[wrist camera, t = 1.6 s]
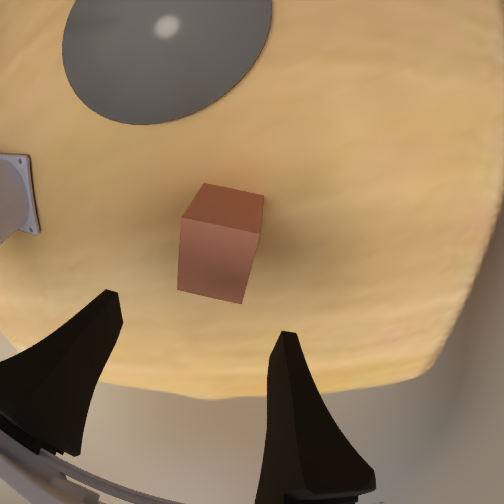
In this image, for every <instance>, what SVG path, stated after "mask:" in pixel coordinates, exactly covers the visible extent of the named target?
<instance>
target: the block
mask: <svg viewBox="0 0 504 504" xmlns="http://www.w3.org/2000/svg"><path fill="white" fill-rule="evenodd" d="M263 201H264V196H263V195H258V194H254V193H249V192H245V191H240V190H236V189H231V188H226V187H221V186H216V185H211V184H206V183H204V184H203V185H202V187H201V188H200V190H199V191H198V193H197V195H196V196H195V198H194V199H193V201H192V202H191V204H190V205H189V207H188V209H187V210H186V212H185V213H184V215H183V216H182V221H181V234H180V247H179V263H178V283H177V290H180V291H185V292H189V293H193V294H197V295H202V296H206V297H211V298H215V299H220V300H224V301H229V302H234V303H239V304H242V301H243V297H244V293H245V290H246V286H247V282H248V278H249V275H250V271H251V267H252V263H253V259H254V256H255V252H256V248H257V244H258V240H259V237H260V231H261V221H262V211H263Z"/></svg>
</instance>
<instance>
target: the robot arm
mask: <svg viewBox="0 0 504 504" xmlns="http://www.w3.org/2000/svg"><path fill="white" fill-rule="evenodd" d="M16 230H21V231H24V232H27V233H30V234H34V235H37V234H38V233H39V232H40V231H39V225H38V220H37V215H36V209H35V203H34V197H33V190H32V182H31V174H30V163H29V158H28V156H27V155H17V154H0V245H1V244H2V243H3V242H4V241H5V240H6V239H7V238H9V237H10V236H11V235H12V234H13V233H14V232H15V231H16ZM122 325H123V319H122V314H121V308H120V303H119V297H118V293H117V292H114V291H110V290H107V289H106V290H104V291H103V292H102V293H101V294H100V295H98V296H97V297H96V298H95V299H94V300H93V301H91V302H90V303H89V304H88V305H87V306H85V307H84V308H83V309H82V310H81V311H80V312H78V313H77V314H76V315H75V316H74V317H72V318H71V319H70V320H69V321H67V322H66V323H65V324H64V325H62V326H61V327H60V328H58V329H57V330H56V331H54V332H53V333H52V334H50V335H49V336H47V337H46V338H44V339H43V340H41V341H40V342H38V343H37V344H35V345H33V346H32V347H30V348H28V349H26V350H25V351H23V352H21V353H19V354H17V355H15V356H13V357H10V358H8V359H6V360H4V361H1V362H0V478H1V479H2V480H4V482H6V483H7V484H8V485H9V486H10V487H11V488H12V489H13V490H15V491H16V492H17V493H18V494H19V495H21V496H22V497H23V498H24V499H25V500H27V501H28V502H29V503H31V504H105V503H103V502H100V501H98V500H99V496H100V495H99V494H98V493H95V492H93V491H91V490H89V489H87V488H85V487H83V486H81V485H78V484H76V483H74V482H71V481H69V480H67V478H66V476H65V475H67V476H69V477H71V478H73V479H75V480H77V481H79V482H81V483H83V484H86V485H88V486H90V487H92V488H95V489H97V490H99V491H102V492H104V493H107V494H109V495H112V496H114V497H117V498H120V499H122V500H125V501H128V502H131V503H134V504H184V503H179V502H175V501H170V500H167V499H163V498H159V497H155V496H151V495H148V494H145V493H142V492H138V491H135V490H132V489H129V488H126V487H124V486H121V485H118V484H115V483H112V482H110V481H108V480H105V479H103V478H100V477H98V476H96V475H93V474H91V473H88V472H87V471H84V470H82V469H80V468H78V467H76V466H74V465H72V464H70V463H68V462H66V461H64V460H62V459H60V458H58V457H57V456H55V454H56V452H58V453H60V454H61V455H63V454H64V452H66V453H68V454H70V455H72V456H74V457H75V456H78V455H80V453H81V444H82V437H83V432H84V427H85V422H86V417H87V413H88V409H89V405H90V402H91V399H92V396H93V392H94V389H95V386H96V384H97V381H98V379H99V377H100V375H101V373H102V370H103V368H104V366H105V364H106V362H107V360H108V358H109V356H110V354H111V352H112V350H113V348H114V346H115V344H116V342H117V339H118V336H119V333H120V330H121V328H122ZM375 489H376V479H375V474H374V470H373V469H372V468H371V467H370V466H369V465H368V464H367V463H366V462H365V461H364V459H363V458H362V457H361V456H360V455H359V454H358V453H357V451H356V450H355V449H354V448H353V447H352V445H351V444H350V443H349V441H348V440H347V439H346V437H345V436H344V434H343V433H342V432H341V430H340V429H339V427H338V426H337V424H336V423H335V421H334V420H333V418H332V416H331V414H330V413H329V411H328V409H327V407H326V406H325V404H324V402H323V400H322V398H321V396H320V394H319V392H318V390H317V387H316V385H315V383H314V381H313V378H312V376H311V373H310V371H309V368H308V366H307V363H306V360H305V358H304V355H303V352H302V349H301V346H300V343H299V339H298V336H297V334H296V333H293V332H287V331H282V332H281V334H280V336H279V338H278V340H277V342H276V344H275V347H274V349H273V351H272V353H271V355H270V358H269V366H268V375H267V433H266V440H265V448H264V455H263V463H262V469H261V474H260V480H259V485H258V490H257V494H256V499H255V504H355V502H358V495H361V494H365V493H369V492H372V491H374V490H375ZM375 504H384V502H379V503H375Z"/></svg>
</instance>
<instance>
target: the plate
mask: <svg viewBox="0 0 504 504" xmlns="http://www.w3.org/2000/svg"><path fill="white" fill-rule="evenodd" d="M271 10H272V4H271V0H76V1H75V3H74V5H73V7H72V9H71V11H70V14H69V16H68V19H67V22H66V26H65V30H64V35H63V42H62V56H63V65H64V69H65V72H66V76H67V78H68V81H69V83H70V85H71V87H72V89H73V90H74V92H75V94H76V95H77V96H78V97H79V98H80V100H81V101H82V102H83V103H84V104H85V105H86V106H88V107H89V108H90V109H91V110H93V111H94V112H96V113H97V114H99V115H101V116H103V117H105V118H107V119H110V120H113V121H116V122H120V123H126V124H132V125H149V124H159V123H163V122H168V121H172V120H175V119H178V118H181V117H184V116H187V115H190V114H192V113H194V112H196V111H198V110H201V109H203V108H205V107H206V106H208V105H210V104H211V103H213V102H215V101H216V100H218V99H219V98H220V97H222V96H223V95H224V94H226V93H227V92H228V91H230V90H231V89H232V88H233V87H234V86H235V85H236V84H237V83H238V82H239V81H240V80H241V79H242V78H243V77H244V76H245V74H246V73H247V72H248V71H249V70H250V69H251V67H252V66H253V64H254V63H255V61H256V60H257V58H258V57H259V55H260V52H261V50H262V48H263V46H264V44H265V42H266V39H267V36H268V33H269V29H270V23H271Z"/></svg>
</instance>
